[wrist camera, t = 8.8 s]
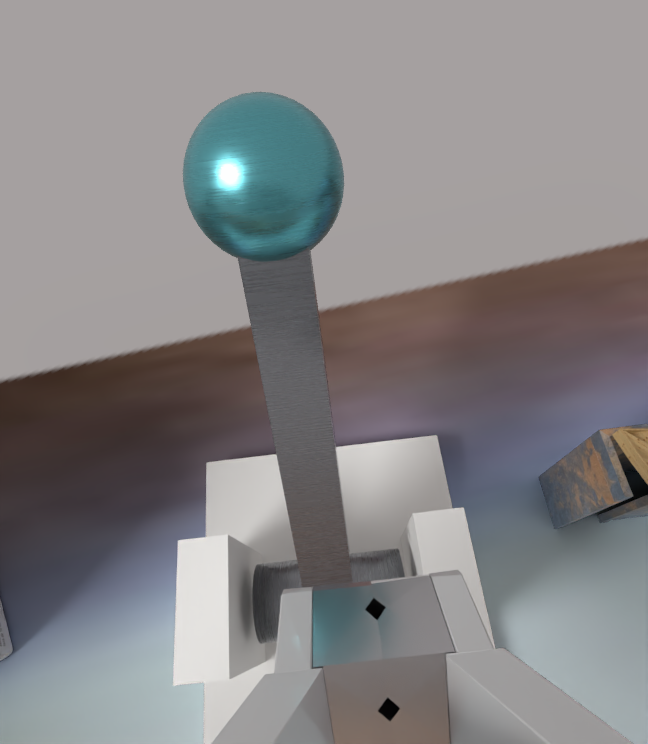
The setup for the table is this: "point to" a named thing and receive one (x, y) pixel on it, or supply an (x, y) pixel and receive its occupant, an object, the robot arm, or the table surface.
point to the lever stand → (275, 544)
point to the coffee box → (4, 636)
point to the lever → (283, 318)
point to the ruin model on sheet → (598, 477)
